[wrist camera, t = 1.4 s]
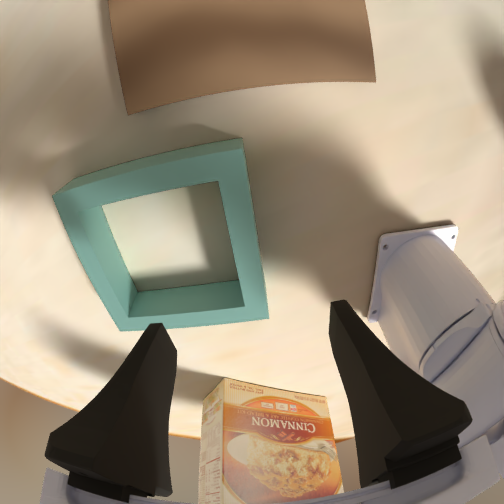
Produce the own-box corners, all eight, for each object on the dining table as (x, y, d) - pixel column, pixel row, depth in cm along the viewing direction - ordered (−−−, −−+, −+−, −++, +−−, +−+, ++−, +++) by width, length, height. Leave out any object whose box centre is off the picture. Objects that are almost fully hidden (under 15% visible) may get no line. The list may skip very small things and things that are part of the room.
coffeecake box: (328, 395, 34) (352, 529, 18) (297, 416, 37) (312, 534, 21) (223, 375, 30) (222, 546, 13) (201, 399, 33) (195, 541, 17)
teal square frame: (266, 291, 23) (269, 318, 20) (129, 306, 23) (120, 331, 21) (242, 137, 16) (242, 148, 14) (74, 178, 17) (52, 195, 14)
